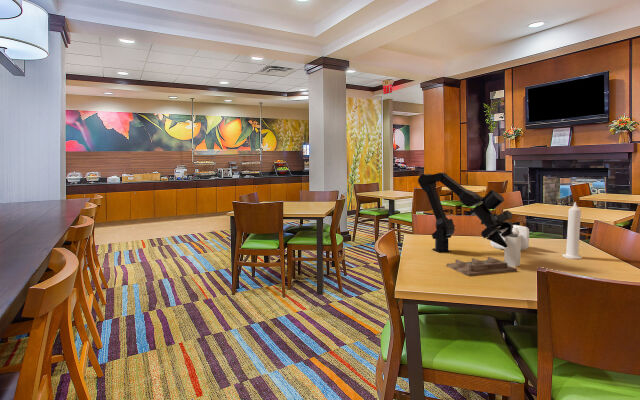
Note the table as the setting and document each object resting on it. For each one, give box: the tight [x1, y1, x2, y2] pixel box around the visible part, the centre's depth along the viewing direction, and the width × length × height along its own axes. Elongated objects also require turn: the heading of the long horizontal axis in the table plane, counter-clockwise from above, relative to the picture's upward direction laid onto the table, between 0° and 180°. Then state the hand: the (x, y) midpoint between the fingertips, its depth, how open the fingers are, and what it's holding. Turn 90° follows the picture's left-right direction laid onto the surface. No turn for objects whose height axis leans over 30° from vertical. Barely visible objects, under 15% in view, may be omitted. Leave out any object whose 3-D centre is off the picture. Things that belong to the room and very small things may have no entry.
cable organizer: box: [489, 224, 530, 251], centre depth 180 cm, size 15×11×12 cm
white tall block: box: [503, 234, 522, 268], centre depth 152 cm, size 4×4×13 cm
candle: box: [562, 201, 583, 260], centre depth 163 cm, size 7×7×25 cm
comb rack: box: [446, 256, 518, 277], centre depth 147 cm, size 14×22×3 cm, turn 104°
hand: (511, 245), depth 152 cm, fingers open, 9 cm apart
